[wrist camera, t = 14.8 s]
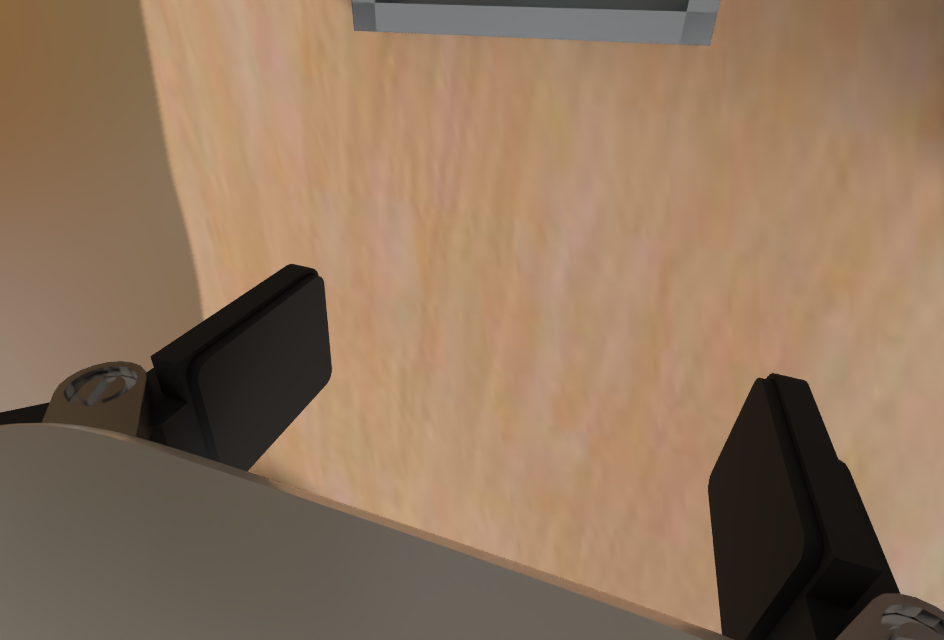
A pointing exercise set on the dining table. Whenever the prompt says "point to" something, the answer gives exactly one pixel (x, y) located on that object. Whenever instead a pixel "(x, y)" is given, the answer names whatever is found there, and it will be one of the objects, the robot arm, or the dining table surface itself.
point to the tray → (546, 19)
